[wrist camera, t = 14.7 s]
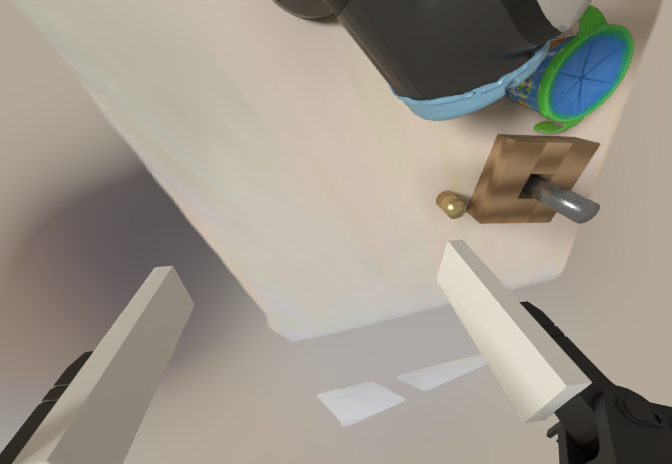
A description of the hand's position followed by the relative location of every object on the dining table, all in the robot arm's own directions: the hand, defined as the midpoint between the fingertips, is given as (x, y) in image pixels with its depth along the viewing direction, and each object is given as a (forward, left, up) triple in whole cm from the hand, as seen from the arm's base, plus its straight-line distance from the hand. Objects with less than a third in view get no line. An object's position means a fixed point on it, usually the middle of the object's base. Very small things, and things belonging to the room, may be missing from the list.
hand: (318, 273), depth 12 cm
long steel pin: (+8, +42, -34) cm, 55 cm away
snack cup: (-9, +35, -34) cm, 50 cm away
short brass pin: (+13, +28, -34) cm, 46 cm away
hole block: (+8, +42, -34) cm, 55 cm away
